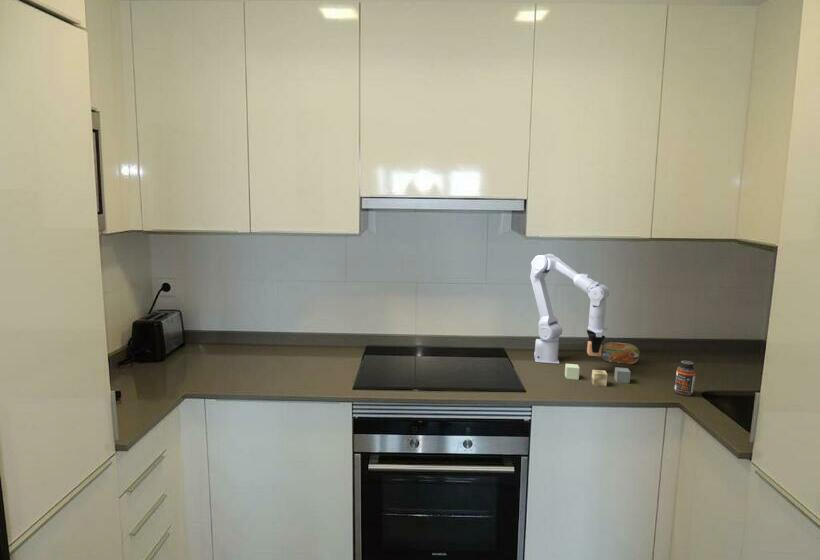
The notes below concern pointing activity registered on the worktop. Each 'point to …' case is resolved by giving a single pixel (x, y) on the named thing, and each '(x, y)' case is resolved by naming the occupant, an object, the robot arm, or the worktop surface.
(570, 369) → the sage block
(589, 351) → the terracotta block
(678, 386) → the supplement bottle
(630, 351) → the tin
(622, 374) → the slate block
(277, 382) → the worktop surface
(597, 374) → the maple block
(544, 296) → the robot arm
